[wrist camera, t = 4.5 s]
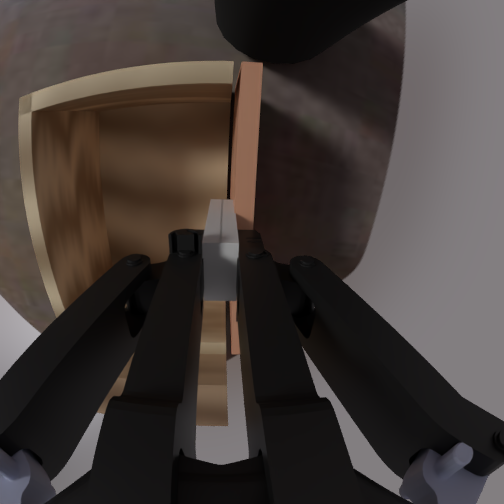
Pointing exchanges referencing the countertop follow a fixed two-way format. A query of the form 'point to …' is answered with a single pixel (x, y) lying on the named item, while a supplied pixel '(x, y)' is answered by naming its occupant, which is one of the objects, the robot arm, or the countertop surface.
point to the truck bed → (128, 184)
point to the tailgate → (244, 159)
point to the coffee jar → (293, 25)
